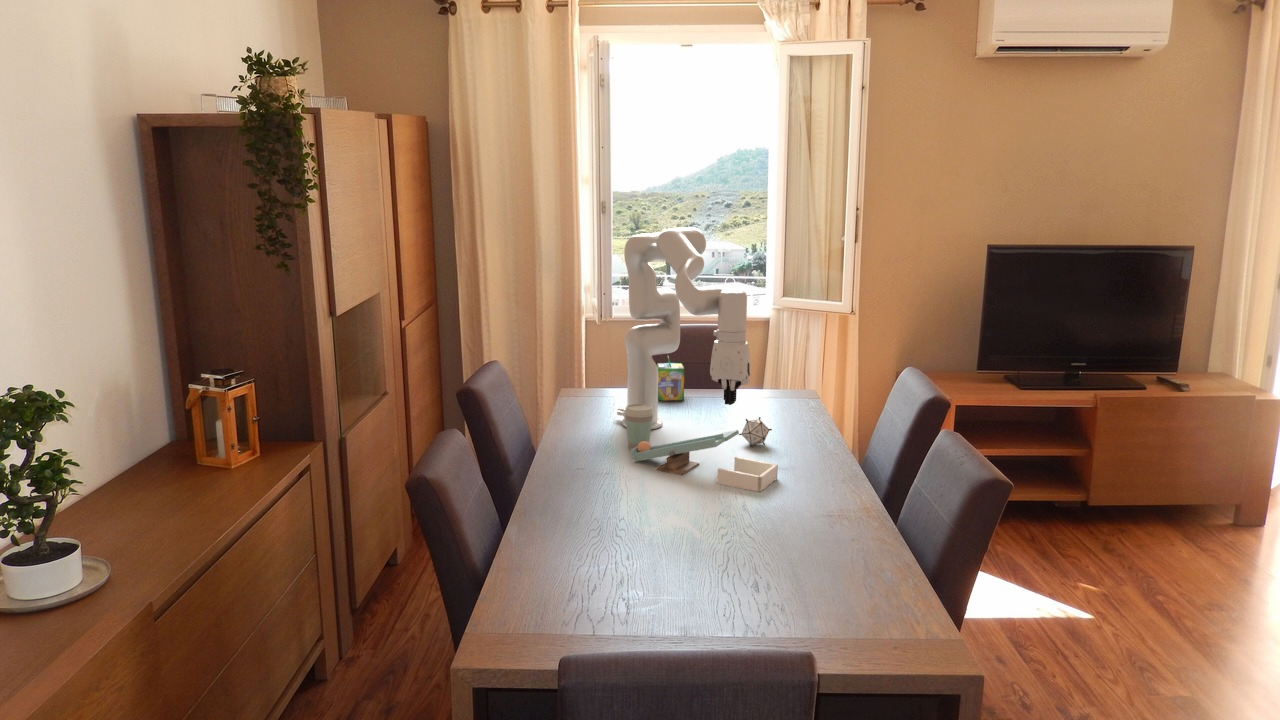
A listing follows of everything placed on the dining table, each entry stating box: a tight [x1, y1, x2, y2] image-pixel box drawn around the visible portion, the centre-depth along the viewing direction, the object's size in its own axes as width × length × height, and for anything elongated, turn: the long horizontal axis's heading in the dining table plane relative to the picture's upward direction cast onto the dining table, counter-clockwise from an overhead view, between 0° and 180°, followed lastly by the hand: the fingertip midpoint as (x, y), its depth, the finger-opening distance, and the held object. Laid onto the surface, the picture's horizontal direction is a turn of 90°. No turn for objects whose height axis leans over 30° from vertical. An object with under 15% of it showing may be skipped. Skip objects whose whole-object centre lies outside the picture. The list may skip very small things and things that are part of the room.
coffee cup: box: [624, 404, 654, 450], centre depth 273 cm, size 8×8×12 cm
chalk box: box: [656, 354, 685, 402], centre depth 327 cm, size 9×9×15 cm
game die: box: [738, 416, 773, 448], centre depth 277 cm, size 9×8×10 cm
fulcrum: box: [655, 452, 700, 476], centre depth 257 cm, size 8×10×4 cm
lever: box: [630, 429, 740, 462], centre depth 259 cm, size 26×16×4 cm, turn 60°
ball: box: [638, 441, 652, 452], centre depth 262 cm, size 4×4×4 cm
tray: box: [716, 456, 779, 493], centre depth 247 cm, size 12×12×4 cm
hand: (729, 403), depth 255 cm, fingers closed
